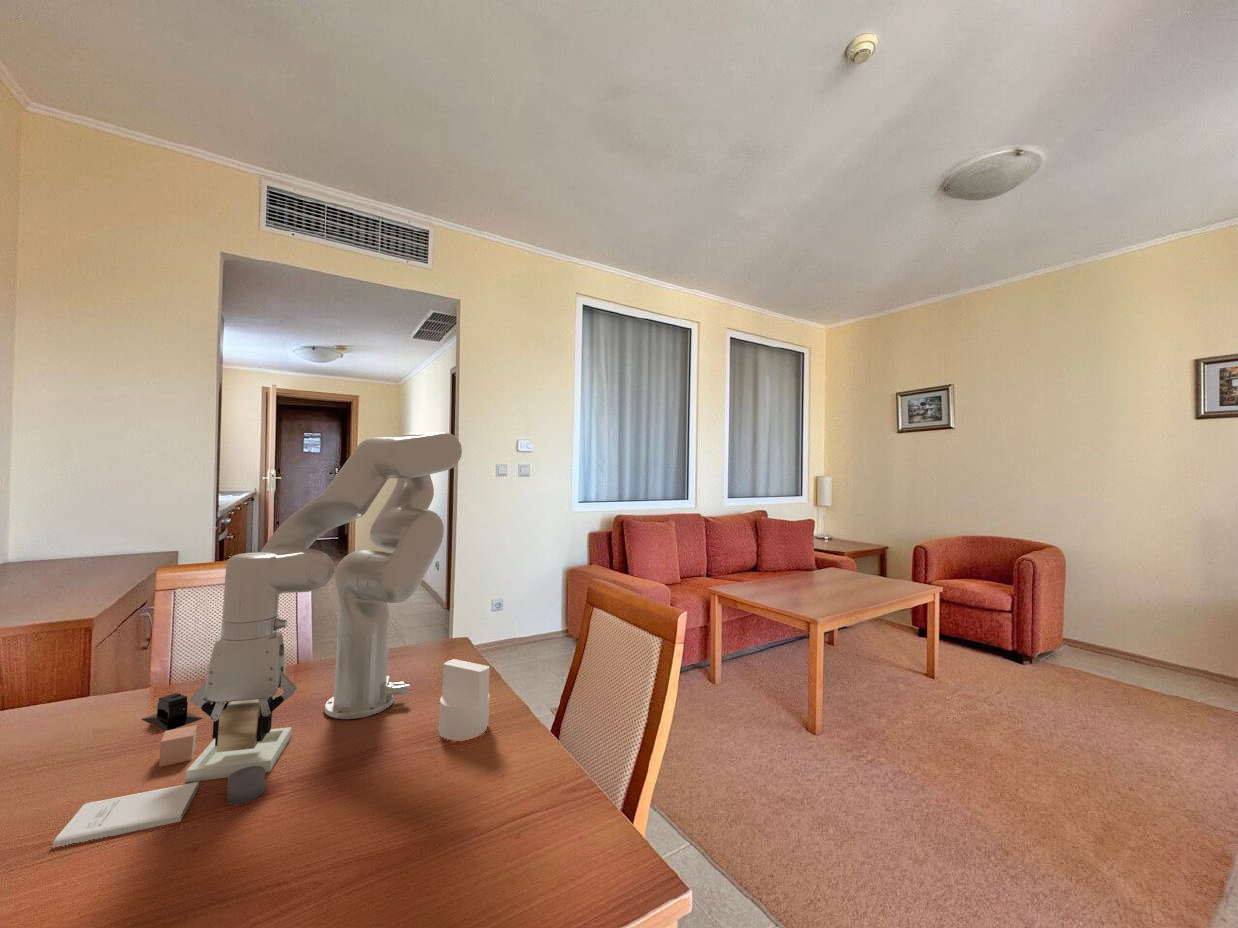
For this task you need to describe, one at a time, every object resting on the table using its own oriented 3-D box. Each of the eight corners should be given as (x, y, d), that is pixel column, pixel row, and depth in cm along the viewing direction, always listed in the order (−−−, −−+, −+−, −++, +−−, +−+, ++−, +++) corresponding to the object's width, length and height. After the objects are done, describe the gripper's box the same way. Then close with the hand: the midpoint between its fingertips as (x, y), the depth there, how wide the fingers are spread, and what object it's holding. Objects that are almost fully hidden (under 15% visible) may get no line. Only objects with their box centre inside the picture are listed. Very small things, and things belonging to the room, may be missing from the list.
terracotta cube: (195, 748, 85) (196, 724, 86) (191, 760, 82) (193, 735, 82) (164, 755, 83) (165, 730, 83) (159, 767, 80) (160, 741, 80)
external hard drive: (180, 826, 68) (51, 853, 62) (198, 791, 75) (85, 812, 70) (181, 813, 68) (52, 839, 62) (199, 780, 75) (85, 800, 70)
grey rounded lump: (268, 783, 77) (269, 763, 77) (257, 801, 72) (259, 780, 73) (233, 788, 75) (234, 768, 75) (221, 807, 71) (222, 785, 71)
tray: (291, 737, 90) (291, 726, 90) (270, 771, 80) (271, 760, 80) (217, 745, 86) (218, 734, 86) (185, 782, 76) (186, 770, 76)
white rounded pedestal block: (427, 734, 93) (430, 668, 93) (460, 714, 101) (463, 653, 101) (467, 745, 89) (470, 677, 90) (497, 723, 98) (500, 661, 98)
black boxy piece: (211, 721, 96) (213, 697, 96) (164, 738, 89) (165, 712, 89) (176, 707, 101) (178, 684, 101) (129, 722, 94) (130, 697, 94)
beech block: (264, 733, 86) (267, 697, 86) (253, 748, 81) (256, 710, 81) (229, 736, 84) (232, 700, 85) (216, 752, 80) (219, 713, 80)
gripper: (313, 619, 90) (307, 723, 89) (198, 624, 84) (190, 734, 84) (302, 631, 83) (294, 744, 82) (175, 637, 77) (166, 758, 77)
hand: (241, 738), depth 83 cm, fingers closed on beech block, 5 cm apart
